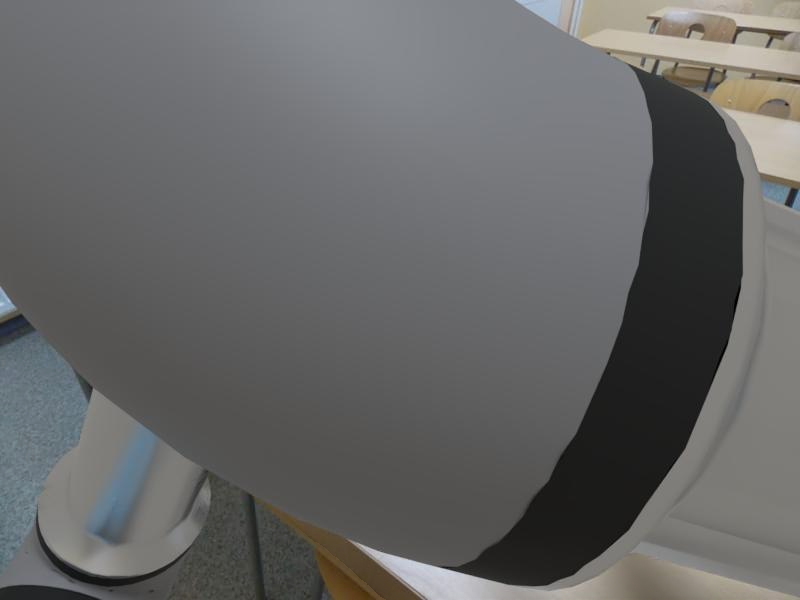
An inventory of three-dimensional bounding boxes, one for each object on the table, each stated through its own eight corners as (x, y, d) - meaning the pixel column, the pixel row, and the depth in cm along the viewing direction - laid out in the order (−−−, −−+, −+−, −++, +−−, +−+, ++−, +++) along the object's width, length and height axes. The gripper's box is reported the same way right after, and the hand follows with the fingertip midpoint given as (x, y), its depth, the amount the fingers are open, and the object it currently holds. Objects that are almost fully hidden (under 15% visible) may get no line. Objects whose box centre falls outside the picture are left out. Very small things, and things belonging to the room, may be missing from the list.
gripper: (829, 667, 32) (505, 570, 44) (804, 349, 46) (565, 344, 58) (834, 626, 27) (473, 531, 40) (805, 290, 42) (547, 298, 54)
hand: (527, 420), depth 49 cm, fingers open, 13 cm apart
